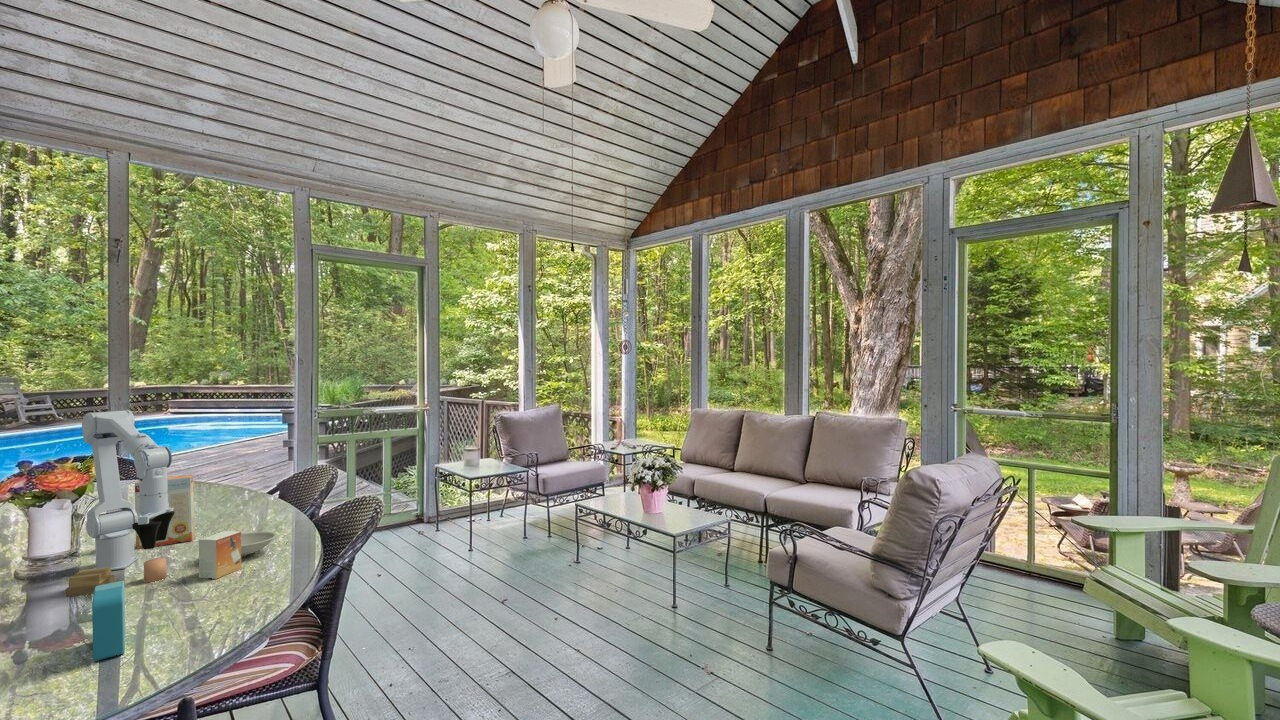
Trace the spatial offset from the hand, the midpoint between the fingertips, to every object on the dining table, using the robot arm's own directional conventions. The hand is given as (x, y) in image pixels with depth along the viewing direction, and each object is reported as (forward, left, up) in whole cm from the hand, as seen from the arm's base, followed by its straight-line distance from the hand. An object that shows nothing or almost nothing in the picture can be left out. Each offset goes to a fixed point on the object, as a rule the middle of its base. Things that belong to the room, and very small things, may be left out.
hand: (154, 544), depth 153 cm
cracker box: (-37, -9, -10) cm, 39 cm away
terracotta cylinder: (0, 0, -9) cm, 9 cm away
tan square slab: (+1, -13, -10) cm, 16 cm away
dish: (-12, +17, -10) cm, 23 cm away
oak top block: (+1, -13, -8) cm, 15 cm away
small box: (+2, +15, -10) cm, 18 cm away
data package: (+42, +6, -10) cm, 43 cm away
